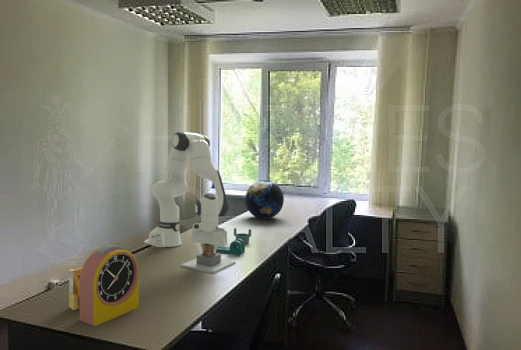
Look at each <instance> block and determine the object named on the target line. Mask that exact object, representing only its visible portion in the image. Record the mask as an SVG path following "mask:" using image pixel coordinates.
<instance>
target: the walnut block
mask: <svg viewBox="0 0 521 350" xmlns="http://www.w3.org/2000/svg"><path fill="white" fill-rule="evenodd" d="M214 248H215V247H214V245H209V244H203V251H202V253H203V256H208V257H212V256H214V255H215V254H213V253H212V250H213V249H214Z"/></svg>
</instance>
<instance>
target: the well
mask: <svg viewBox="0 0 521 350" xmlns="http://www.w3.org/2000/svg"><path fill="white" fill-rule="evenodd" d="M235 264H236V261H234V260H229V259H226V258H222V253H217V252H216V253H215V255H214V256H212V257H208V256H203V252H201V253H199V254H196V257H195V258H194V259H191V260H189V261H187V262H186V261H185V262H184V263H182V264H180V266H181V267H182V268H187V269H191V270H194V271H195V270H196V271H200V272H204V273H208V274H209V273H210V274H213V275H214V274H216V273H219V272H220V271H222V270H224V269H226V268H228V267H231V266H233V265H235Z"/></svg>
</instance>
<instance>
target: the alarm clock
mask: <svg viewBox="0 0 521 350" xmlns="http://www.w3.org/2000/svg"><path fill="white" fill-rule="evenodd" d="M81 267H82V270H81V273H80V280H79V290H80V308H79V321H81V322H84V323H85V324H89V325H91V326H94V327H95V326H99V325H101V324H104V323H106V322H108V321H110V320H113V319H115V318H118V317H120V316H122V315H125V314H127V313H129V312H132V311H134V310H136V309H139V307H140V306H139V304H140V303H139V301H140V300H139V299H140V298H139V297H140V296H139V289H140V278H139V277H140V276H139V275H140V274H139V270H140V269H139V264H138V261H137V258H136V257H135V256H134V254H133V253H132V252H130V251H128V250H125V249H124V248H123V246H121V245H117V244H106V245H104V246H102V247H100V248H97V249H96V250H95V251H93V252H92V253H91V254H90V255H89V256H88V257H87V258H86V260H85V262H84V263H83V265H82V266H81Z"/></svg>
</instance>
